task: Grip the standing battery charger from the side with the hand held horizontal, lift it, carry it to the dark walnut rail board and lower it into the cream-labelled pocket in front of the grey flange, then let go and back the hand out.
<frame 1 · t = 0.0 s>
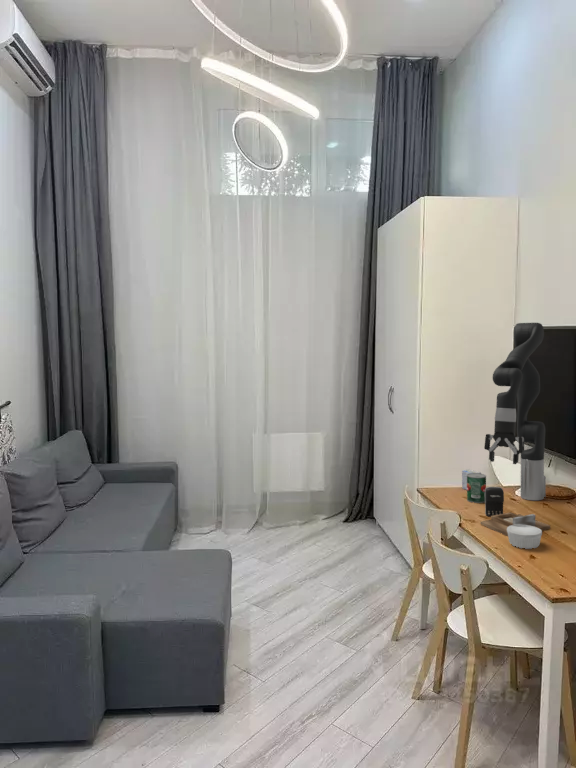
hand: (503, 462, 223), 22 cm above the table, tool pointing down, fingers open, 8 cm apart
ramekin: (524, 545, 199), on the table
medicine box: (471, 490, 267), on the table
rail board: (514, 526, 217), on the table
battery charger: (494, 516, 230), on the table
canned tomato: (476, 500, 251), on the table
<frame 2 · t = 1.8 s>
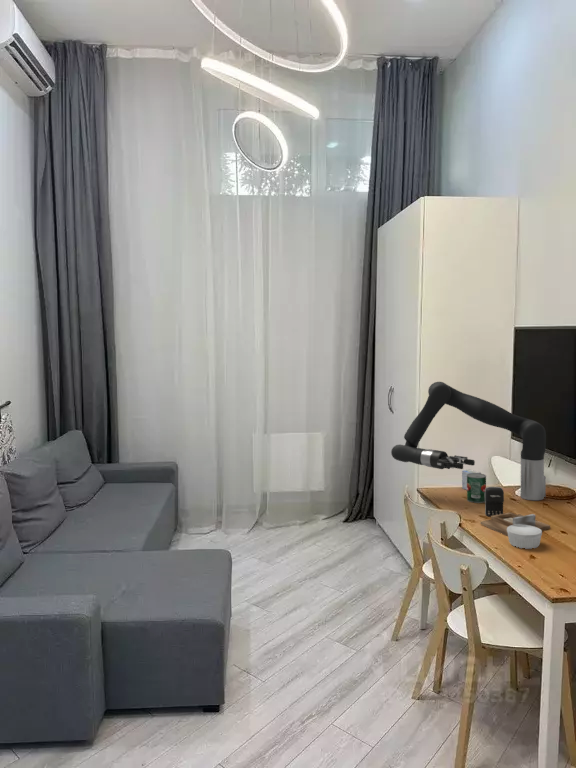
hand: (468, 464, 236), 19 cm above the table, tool horizontal, fingers open, 8 cm apart
nothing on the table moved.
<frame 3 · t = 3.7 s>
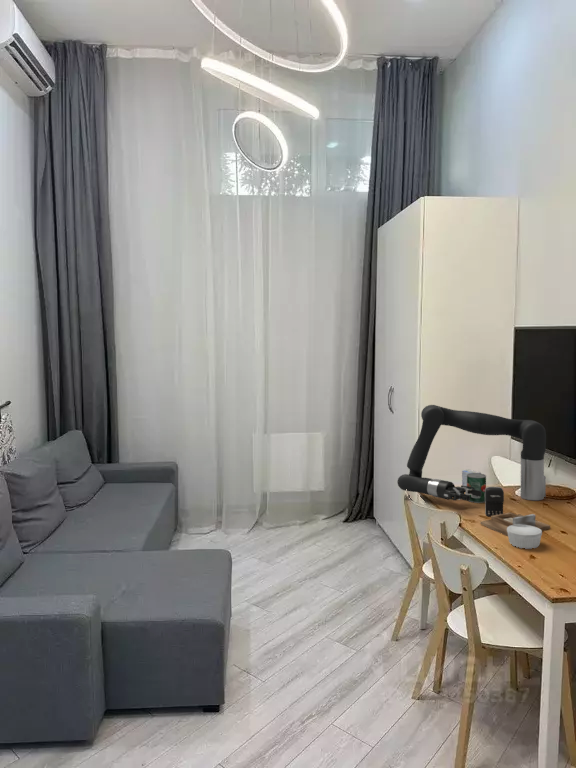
hand: (475, 496, 235), 6 cm above the table, tool horizontal, fingers open, 8 cm apart
nothing on the table moved.
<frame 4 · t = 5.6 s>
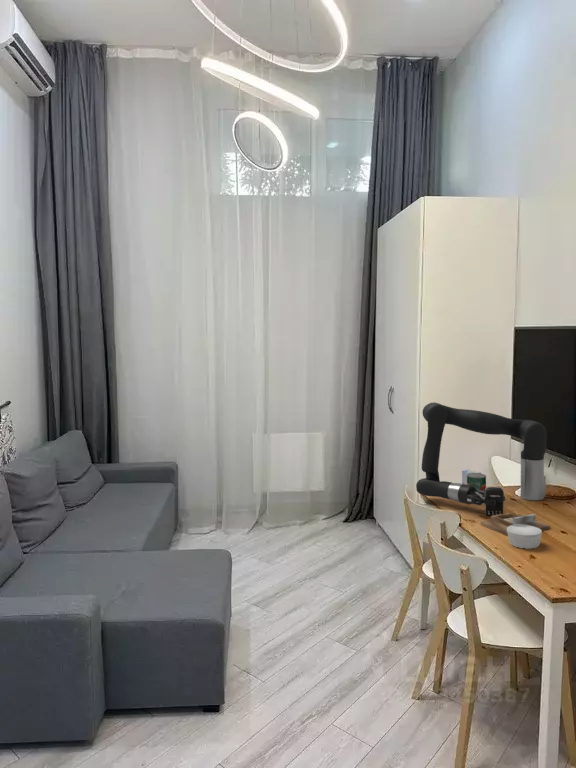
hand: (499, 500, 227), 7 cm above the table, tool horizontal, fingers open, 7 cm apart
battery charger: (494, 516, 230), on the table, touching gripper
everything else where it was.
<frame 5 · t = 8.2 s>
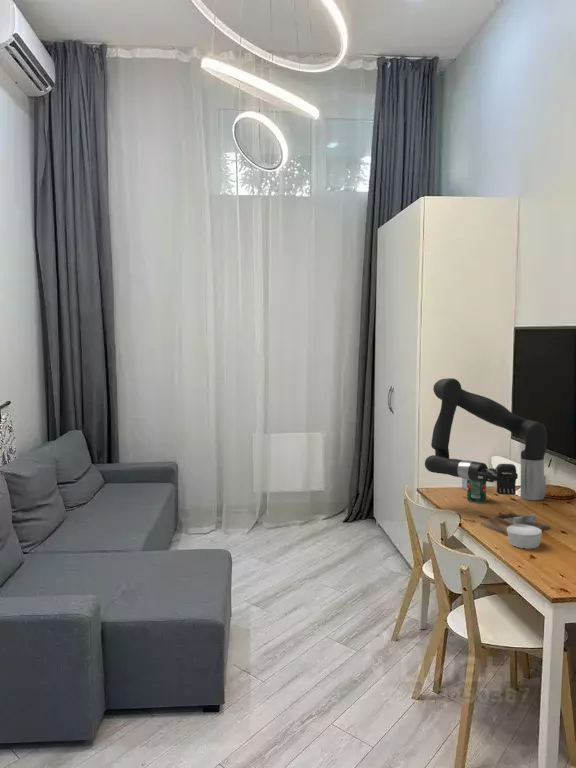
hand: (512, 478, 218), 18 cm above the table, tool horizontal, fingers closed on battery charger, 6 cm apart
battery charger: (506, 494, 220), point 11 cm above the table, touching gripper
everything else where it was.
when the fingers open (9 cm above the table, at t = 10.7 s): battery charger stays where it is, resting on rail board.
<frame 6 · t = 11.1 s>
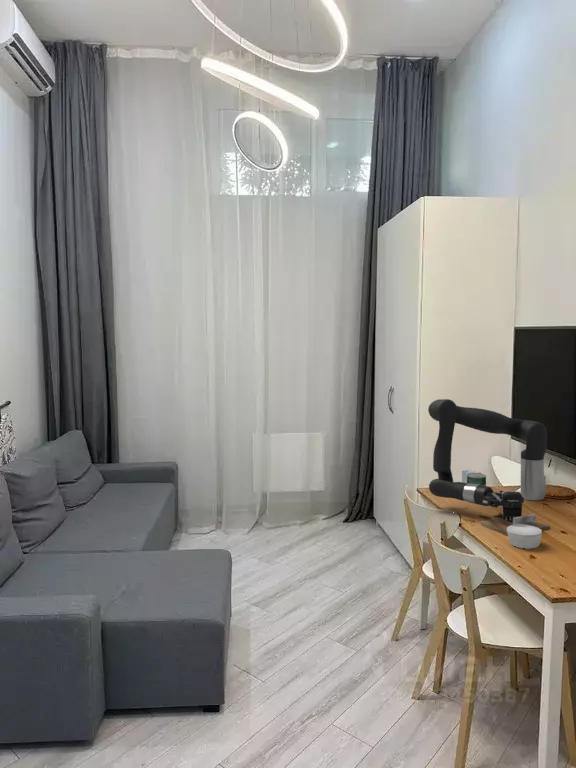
hand: (517, 502, 216), 9 cm above the table, tool horizontal, fingers open, 8 cm apart
battery charger: (512, 522, 218), point 1 cm above the table, touching rail board
everything else where it was.
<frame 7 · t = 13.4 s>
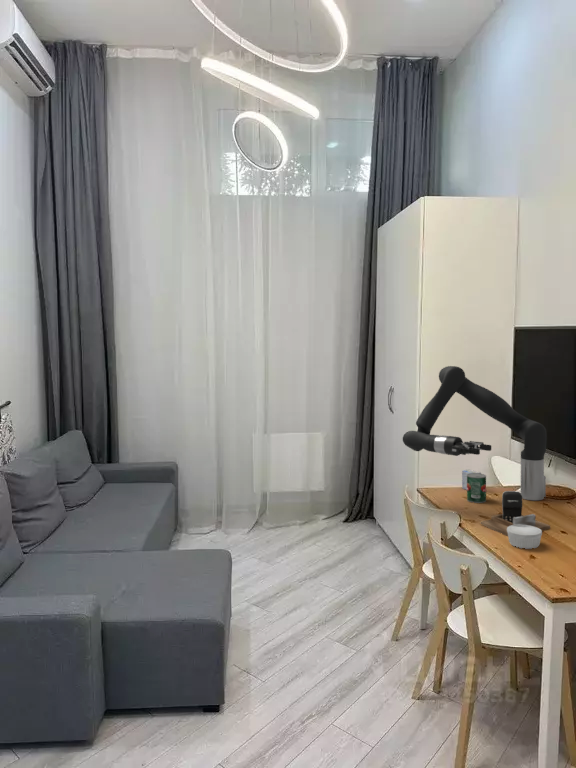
hand: (485, 449, 224), 27 cm above the table, tool horizontal, fingers open, 8 cm apart
nothing on the table moved.
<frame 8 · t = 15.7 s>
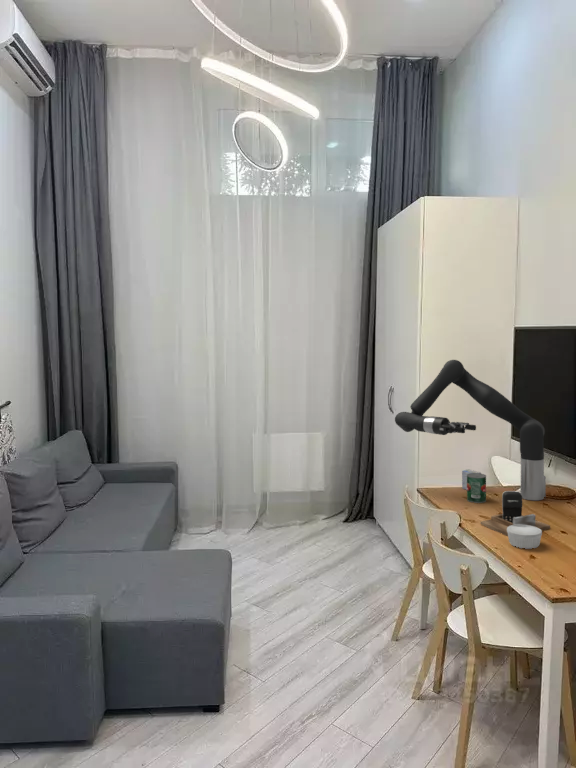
hand: (470, 429, 242), 32 cm above the table, tool horizontal, fingers open, 8 cm apart
nothing on the table moved.
at the end: battery charger inside the target area on the rail board (0.2 cm from its centre), point 1.2 cm above the rail board's base; battery charger tilted 0°; the gripper is holding nothing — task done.
